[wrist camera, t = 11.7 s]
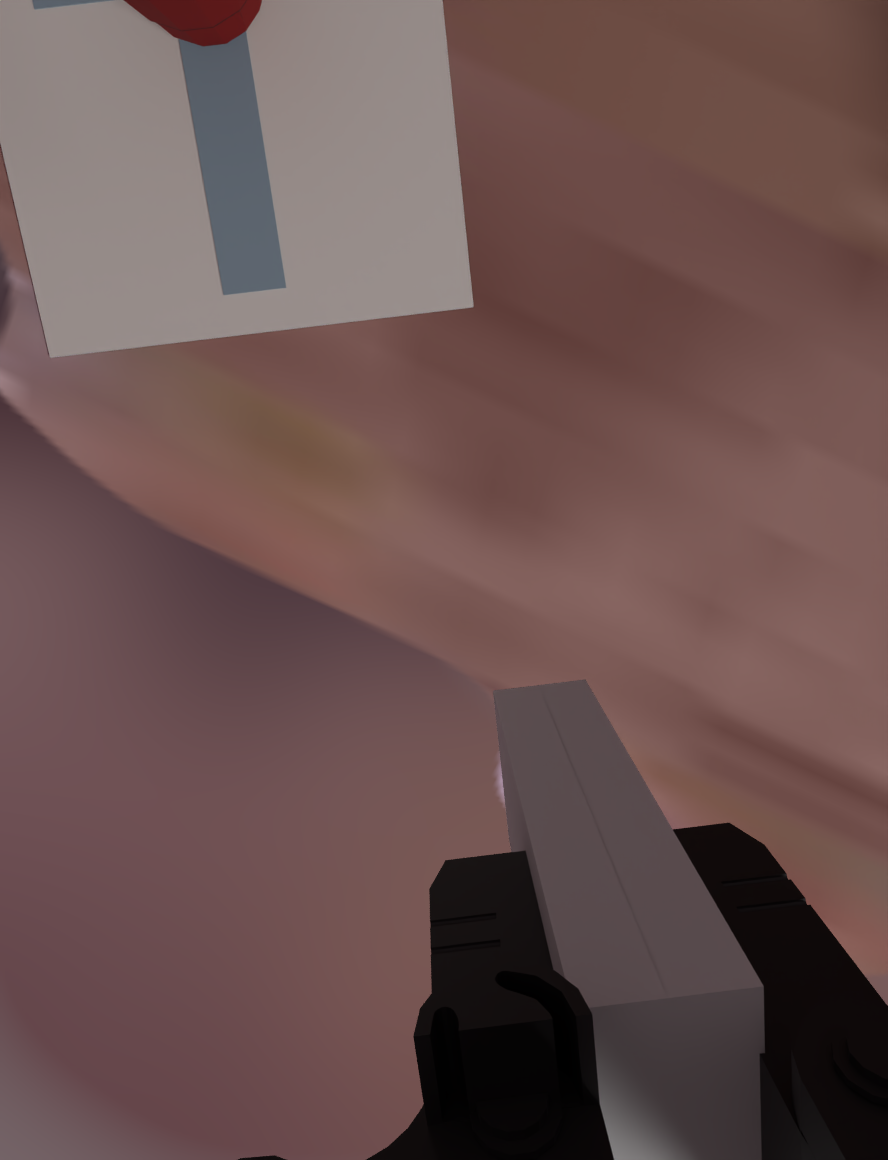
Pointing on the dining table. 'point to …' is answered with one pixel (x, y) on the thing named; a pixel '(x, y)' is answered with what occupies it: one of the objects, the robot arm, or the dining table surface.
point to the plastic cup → (200, 18)
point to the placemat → (231, 170)
